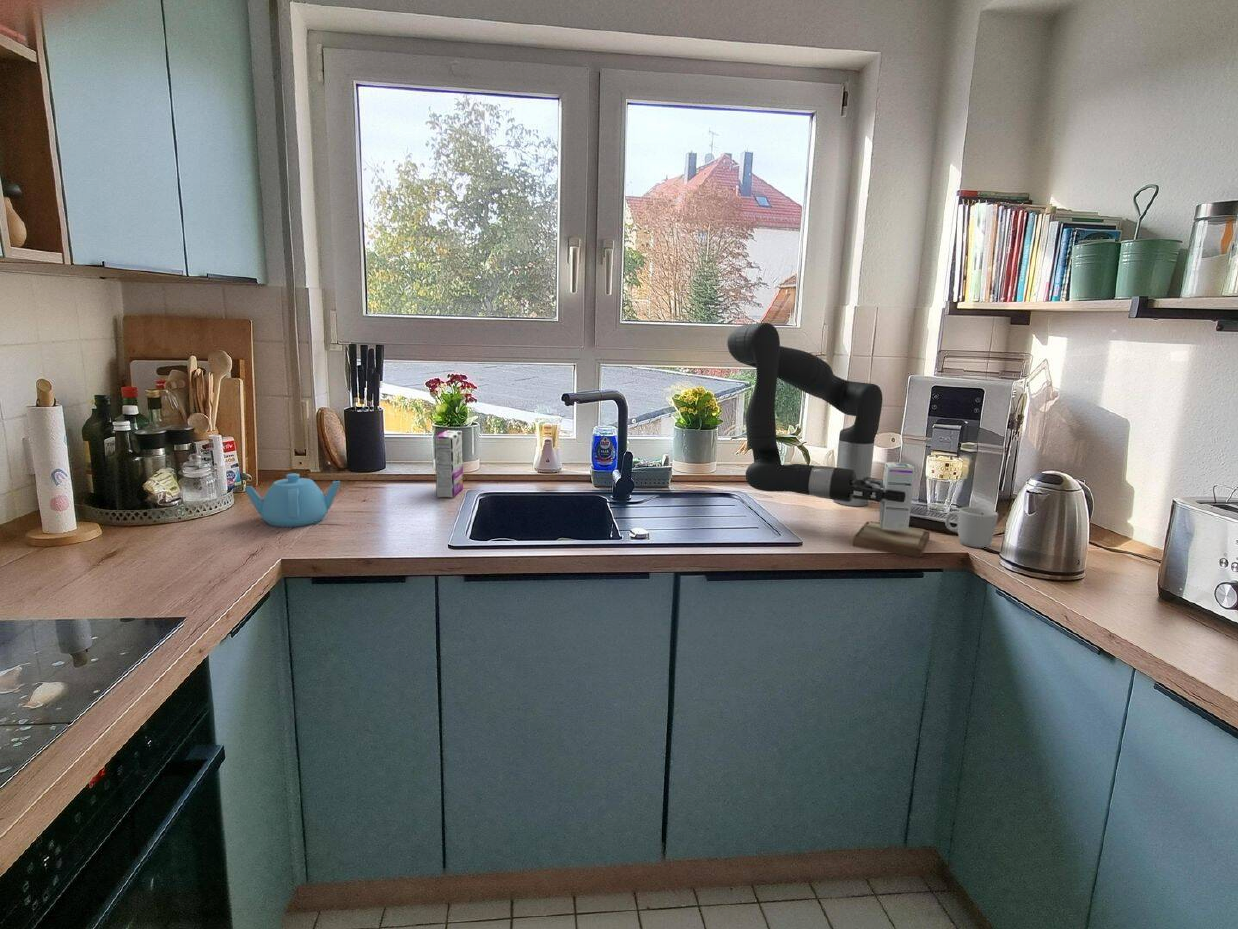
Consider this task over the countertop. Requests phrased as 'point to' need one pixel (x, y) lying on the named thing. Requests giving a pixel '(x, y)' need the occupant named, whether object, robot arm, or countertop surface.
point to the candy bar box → (448, 464)
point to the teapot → (293, 501)
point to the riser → (892, 539)
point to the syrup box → (893, 511)
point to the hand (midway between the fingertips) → (907, 494)
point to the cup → (974, 526)
